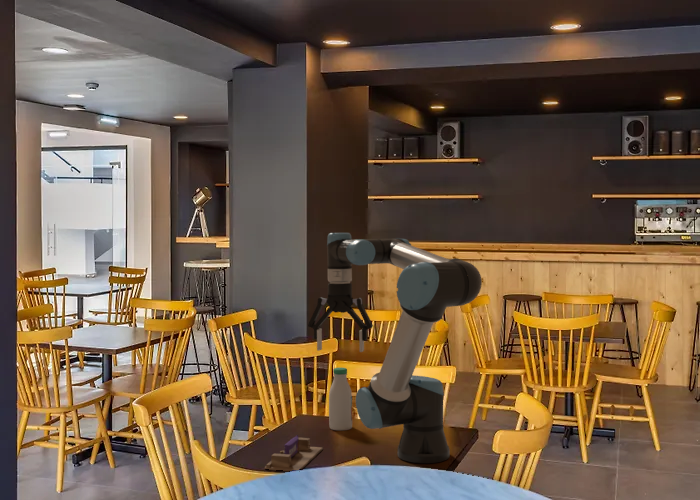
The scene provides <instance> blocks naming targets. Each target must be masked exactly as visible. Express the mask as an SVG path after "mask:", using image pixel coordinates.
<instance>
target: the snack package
mask: <svg viewBox="0 0 700 500" xmlns="http://www.w3.org/2000/svg"><path fill="white" fill-rule="evenodd" d="M299 438H300V437H299V434H296V435H295V436H294V437H292V438H290V440H288V441H287V442H286V443H285V444H284V445H283V446H284V449H283V451H284V454H288V455H291V458H292V457H293V456H294V455H295V454H296V453H297V452H298V451H299Z"/></svg>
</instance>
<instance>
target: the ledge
mask: <svg viewBox="0 0 700 500" xmlns="http://www.w3.org/2000/svg"><path fill="white" fill-rule="evenodd" d="M298 438H299V451H298V452H297V453H296V454H295V455H294V456H293V457H292V458H291V455H288V454H284V450H279V453H273V454H271V455H270V456H271V459H270V461H269V462H268V463H266V465H265V466H264V470H265V469H269V470H268V471H276V470H283V471H282V472H289V471H292V470H299V469H302V470H303V469H304V468H305V467H306V466H307V465H308V464H309V463H310V462H311V461H312V460H314V458H316V457H317V456H318V454H319V453H321V452H322V451H323V447H319V446H311V438H309V437H298Z"/></svg>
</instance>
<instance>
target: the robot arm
mask: <svg viewBox="0 0 700 500" xmlns="http://www.w3.org/2000/svg"><path fill="white" fill-rule="evenodd" d="M326 248H327V249H326V252H327V253H326V254H327V256H326V257H327V281H328V282H329V283H328V284H327V298H324V297H323V296H321V297H318V299H317V305H316V306H315V309H314V311H313V313H312V315H311V318H310V319H309V322H308V323H307V326H308V328H312V329H313V338H314V340H316V348H317V349H316V351H322V350H323V338H322V337H323V329H322V328H320V327H321V326H322V325H323V323H324V322H325V321H326V320H327V319H328V318H329V316H330V315H331V314H332V313H333V314H334V313H342V314H343V313H347V314H348V315H349V316H350V317H351V318H352V319H353V320H354V322H355V323H356V324H357V326H358V327H359V328H360V330H359V331H358V333H359V334H358V335H359V339H358V341H359V344H358V345H359V353H363V352H364V351H365V341H367V339H368V330H369V329H372V328H373V327H374V325H373V323H372V320H371V318H370V316H369V314H368V312H367V311H366V309H365V306H364V304H363V298H362V297H359V298H353V284H352V281H353V270H352V269H353V267H352V266H353V265H356V266H366V265H375V264H377V265H378V264H381V265H382V264H390V265H392V266H394V267H397V268H400V269H402V271H401V272H400V274H399V277H398V279H397V282H396V288H397V291H396V296H397V299H398V300H397V301H398V302H399V305H400V308H401V310H402V312H401V315H400V317H399V320H398V323H397V324H396V325H397V326H396V327H395V330H394V333H393V336H392V338H391V341H390V345H389V347H388V349H387V351H386V354H385V357H384V359H383V362H382V365H381V367H380V371H379V372H377V373H375V374H373V376H372V377H371V378H370V382H369V384H368V386H367V387H366V386H363V387H361V388H359V389H358V390H357V391H356V395H355V405H356V406H355V407H356V411H357V414H358V417H359V419H360V421H361V422H362V424H363V426H364V427H366V428H367V429H370V430H373V429H374V430H376V429H379V430H380V429H384V428H389V427H390V428H391V427H396V426H401V425H403V428H402V429H403V430H402V433H401V436H400V439H399V443H398V445H397V457H398V459H400V460H403V461H405V462H409V463H415V464H436V463H440V462H441V463H442V462H444V461H446V460H449V458H450V457H451V455H450V446H449V445H448V442H447V437H446V434H445V431H444V430H445V429H444V396H445V394H444V387H443V386H444V385H443V383H442V381H441V380H440V379H437V378H434V377H431V376H430V377H428V376H425V375H424V376H423V375H413V374H414V371H415V369H416V366H417V364H418V362H419V360H420V357H421V354H422V352H423V350H424V347H425V344H426V342H427V341H428V340H427V339H428V336H429V335H430V332H431V330H432V329H433V328H432V327H433V325H434V323H437V322H439V321H441V320H442V319H443V316H444V314H445V311H446V309H447V308H450V307H460V306H461V307H462V306H465V305H468V304H470V303H472V301H474V300H475V299H476V298H477V297H478V295H479V293H480V292H481V289H482V286H483V285H482V284H483V283H482V275H481V273H480V271H479V269H478V268H477V267H476V266H475V265H474V264H472V263H471V262H468V261H465V260H463V259H459V258H451V259H449V258H447V257H443V256H441V255H438V254H435V253H433V252H430V251H427V250H425V249H421V248H419V247H417V246H414V245H412V243H410V240H408V239H406V238H400V237H395V238H370V239H369V238H368V239H367V238H363V239H362V238H361V239H360V238H358V239H357V238H356V239H354V238H352V235H351V233H350V232H330V233H328V235H327V244H326ZM325 304H327V305H328V308H327V309H326V310H325V312H324V313H323V314H322V316H321V317H320V318H319V319H318V317H319V315H320V313H321V311H322V309H323V307H324V305H325ZM353 304H354V305H355V306H356V307H357V309H358V311H359V313H360V315H361V317H362V319H363V320H362V319H361V317H360V316H359V315H358V314H357V312H356V311H355V310H354V308H353V306H352V305H353ZM316 321H317V322H316Z"/></svg>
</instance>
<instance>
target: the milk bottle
mask: <svg viewBox="0 0 700 500" xmlns="http://www.w3.org/2000/svg"><path fill="white" fill-rule="evenodd" d="M332 371H333V381H332V384H331V386H330V388H329V392H328V393H329V395H328V419H329V420H328V423H329V424H328V425H329V429H330V430H332V431H348V430H351V429H352V428H353V393H352V388H351V386H350V384H349V382H348V379H347V376H348V369H347V367H335V368H333V370H332Z"/></svg>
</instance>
